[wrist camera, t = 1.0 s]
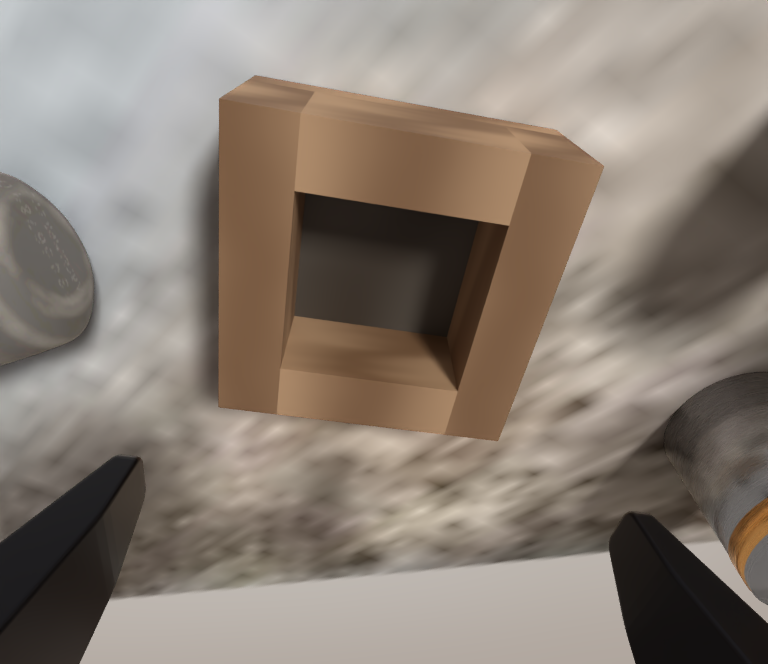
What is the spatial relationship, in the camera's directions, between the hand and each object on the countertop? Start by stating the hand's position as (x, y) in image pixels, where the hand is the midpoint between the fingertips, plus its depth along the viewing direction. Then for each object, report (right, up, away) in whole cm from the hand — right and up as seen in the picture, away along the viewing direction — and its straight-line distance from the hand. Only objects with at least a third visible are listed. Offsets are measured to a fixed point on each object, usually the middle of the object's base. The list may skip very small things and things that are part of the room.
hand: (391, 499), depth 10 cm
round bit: (+17, -1, +15) cm, 23 cm away
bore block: (0, +6, +10) cm, 12 cm away
